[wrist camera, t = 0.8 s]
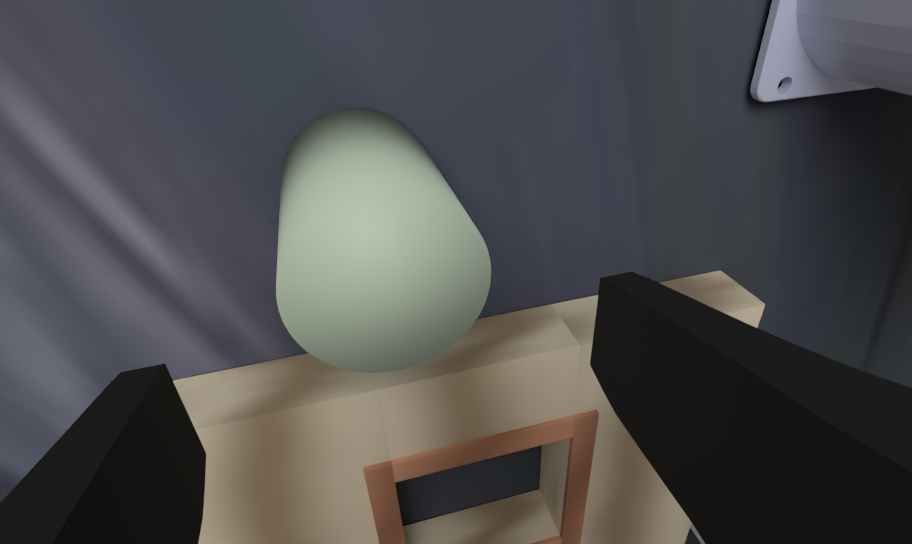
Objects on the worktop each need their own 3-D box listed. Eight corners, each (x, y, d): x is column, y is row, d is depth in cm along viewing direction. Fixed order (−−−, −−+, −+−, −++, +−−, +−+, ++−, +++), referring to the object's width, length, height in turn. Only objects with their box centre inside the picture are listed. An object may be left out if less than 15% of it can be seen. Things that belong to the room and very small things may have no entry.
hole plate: (720, 270, 22) (769, 307, 19) (657, 504, 30) (686, 548, 28) (143, 386, 17) (121, 451, 15) (262, 619, 26) (259, 682, 24)
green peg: (424, 98, 15) (490, 175, 10) (435, 235, 17) (491, 350, 12) (265, 117, 14) (250, 210, 9) (298, 257, 16) (301, 391, 12)
